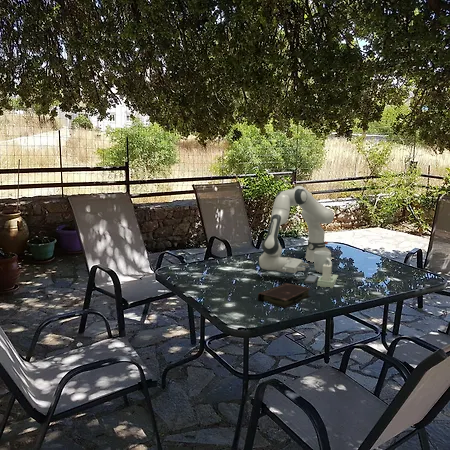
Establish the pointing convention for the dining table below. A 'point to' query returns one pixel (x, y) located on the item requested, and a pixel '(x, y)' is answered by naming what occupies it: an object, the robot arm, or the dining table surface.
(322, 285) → the green desk organizer
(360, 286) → the dining table surface
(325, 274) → the charger
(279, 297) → the diary
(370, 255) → the dining table surface
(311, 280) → the phone
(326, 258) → the mug
